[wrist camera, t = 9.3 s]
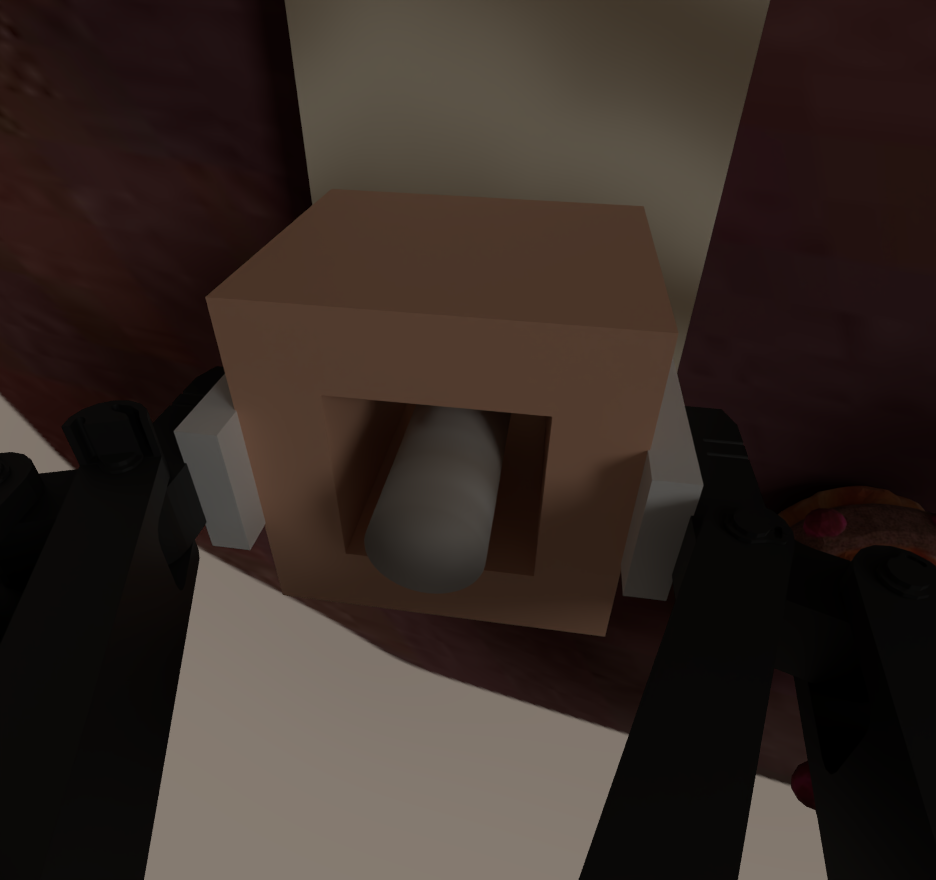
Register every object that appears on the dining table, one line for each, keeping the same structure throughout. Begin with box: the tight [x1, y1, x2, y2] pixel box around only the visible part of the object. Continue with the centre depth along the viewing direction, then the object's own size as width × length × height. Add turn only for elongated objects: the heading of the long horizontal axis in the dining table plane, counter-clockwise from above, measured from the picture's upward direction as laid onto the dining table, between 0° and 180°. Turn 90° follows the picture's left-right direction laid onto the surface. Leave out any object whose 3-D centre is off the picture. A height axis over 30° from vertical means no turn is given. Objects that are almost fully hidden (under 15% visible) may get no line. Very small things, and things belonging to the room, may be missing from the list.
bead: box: [205, 189, 679, 637], centre depth 13 cm, size 7×7×6 cm
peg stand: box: [285, 0, 770, 594], centre depth 15 cm, size 18×12×14 cm, turn 179°
